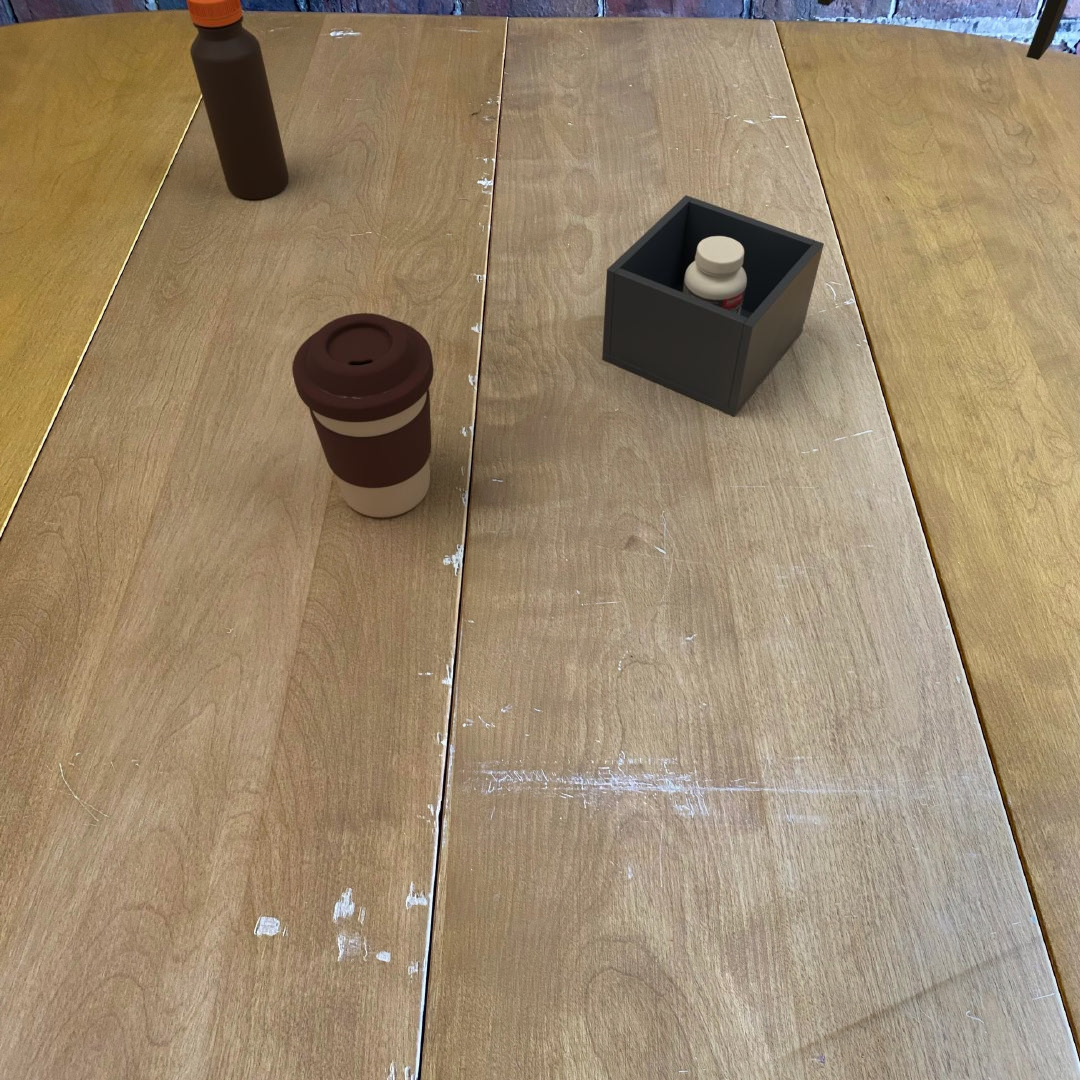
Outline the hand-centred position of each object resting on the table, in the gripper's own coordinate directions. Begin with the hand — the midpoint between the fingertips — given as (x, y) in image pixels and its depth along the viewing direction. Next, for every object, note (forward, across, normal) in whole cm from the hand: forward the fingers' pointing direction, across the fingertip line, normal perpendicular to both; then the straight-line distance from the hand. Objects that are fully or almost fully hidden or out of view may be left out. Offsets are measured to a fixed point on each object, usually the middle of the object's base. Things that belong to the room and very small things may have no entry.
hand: (930, 23), depth 63 cm
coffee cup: (+32, +25, +30) cm, 50 cm away
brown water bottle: (+32, +66, +3) cm, 73 cm away
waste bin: (+32, +12, 0) cm, 34 cm away
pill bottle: (+31, +12, 0) cm, 33 cm away
